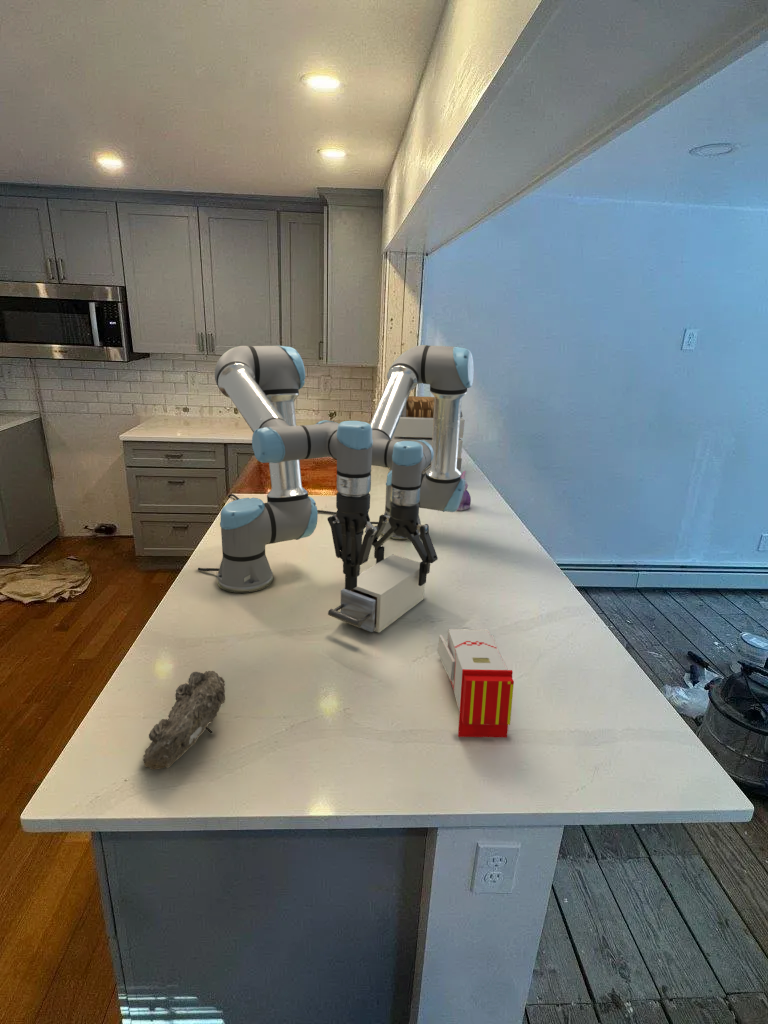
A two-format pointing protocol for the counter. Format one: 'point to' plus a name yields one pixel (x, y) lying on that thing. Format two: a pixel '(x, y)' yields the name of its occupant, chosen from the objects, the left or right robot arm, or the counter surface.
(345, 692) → the counter surface
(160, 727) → the fossil
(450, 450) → the right robot arm
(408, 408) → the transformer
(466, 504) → the figurine
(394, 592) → the cabinet
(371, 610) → the drawer
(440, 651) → the white and red box
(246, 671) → the counter surface
